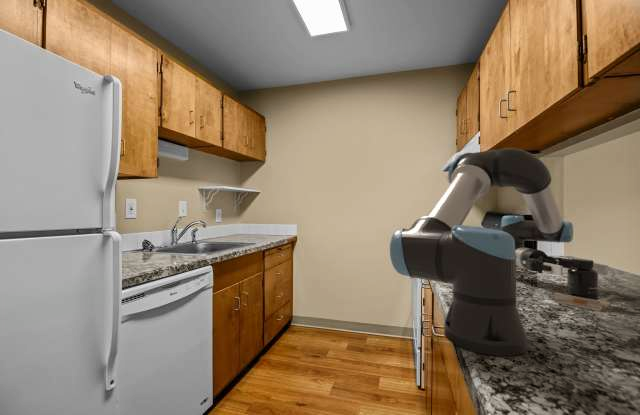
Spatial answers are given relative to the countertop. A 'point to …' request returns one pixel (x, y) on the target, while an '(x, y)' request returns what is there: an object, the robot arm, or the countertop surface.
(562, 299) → the flat beige box
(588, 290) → the supplement bottle
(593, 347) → the countertop surface
